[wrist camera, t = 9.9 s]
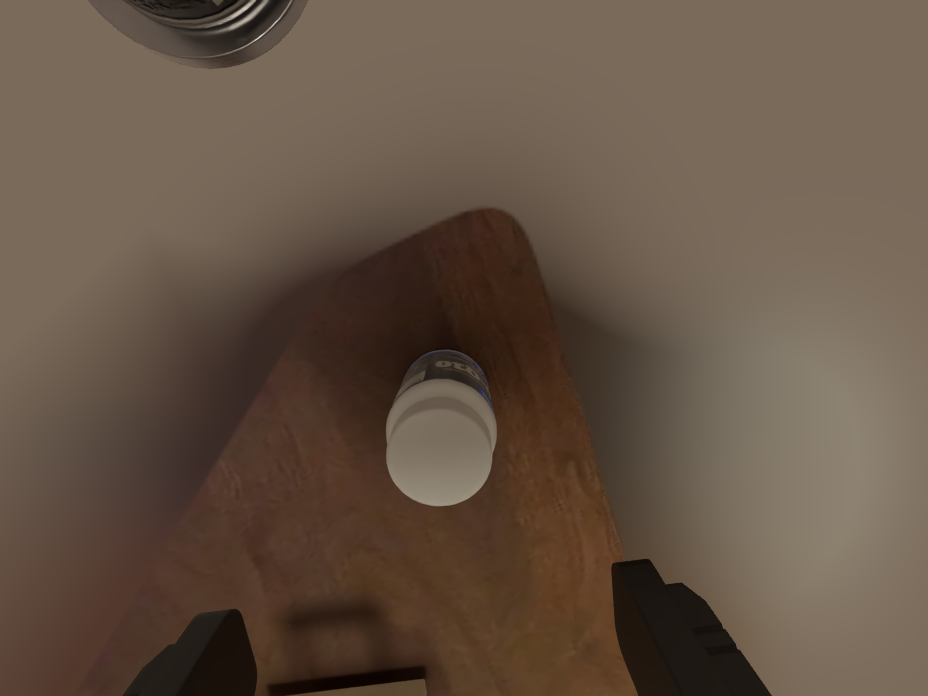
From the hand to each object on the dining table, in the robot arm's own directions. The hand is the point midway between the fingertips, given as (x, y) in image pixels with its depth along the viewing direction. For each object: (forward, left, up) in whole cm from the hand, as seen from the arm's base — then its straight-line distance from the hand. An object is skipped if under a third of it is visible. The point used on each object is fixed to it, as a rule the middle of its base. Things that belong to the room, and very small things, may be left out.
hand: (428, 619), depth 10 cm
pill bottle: (0, 0, -16) cm, 16 cm away
